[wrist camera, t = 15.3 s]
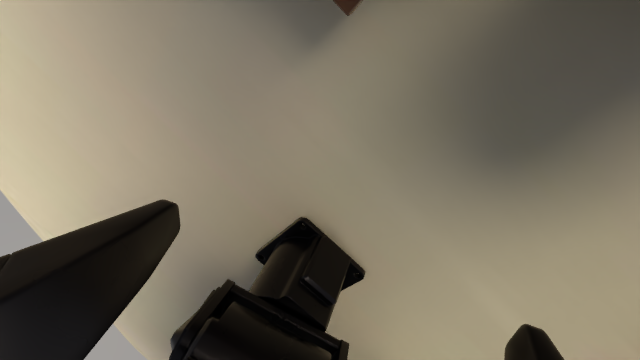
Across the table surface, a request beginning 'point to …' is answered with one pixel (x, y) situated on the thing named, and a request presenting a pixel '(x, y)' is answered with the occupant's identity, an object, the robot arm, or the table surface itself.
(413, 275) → the table surface
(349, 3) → the dark wooden slab
